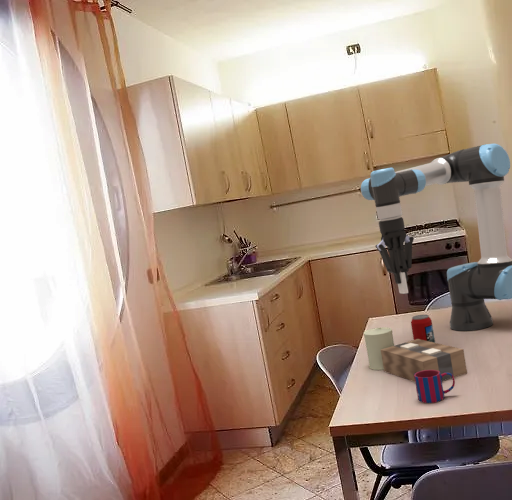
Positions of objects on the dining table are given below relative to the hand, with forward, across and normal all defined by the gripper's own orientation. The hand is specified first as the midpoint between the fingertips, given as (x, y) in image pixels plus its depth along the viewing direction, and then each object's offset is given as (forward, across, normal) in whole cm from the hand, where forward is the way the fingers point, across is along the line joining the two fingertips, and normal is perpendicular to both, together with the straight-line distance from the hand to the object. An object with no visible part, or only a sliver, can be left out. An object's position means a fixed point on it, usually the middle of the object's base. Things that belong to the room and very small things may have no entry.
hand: (403, 292), depth 193 cm
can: (+23, +7, -8) cm, 26 cm away
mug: (+23, +15, +29) cm, 40 cm away
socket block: (+23, +3, +8) cm, 25 cm away
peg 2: (+23, +3, +14) cm, 27 cm away
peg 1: (+23, +3, +3) cm, 23 cm away
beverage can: (+24, -11, -10) cm, 28 cm away
